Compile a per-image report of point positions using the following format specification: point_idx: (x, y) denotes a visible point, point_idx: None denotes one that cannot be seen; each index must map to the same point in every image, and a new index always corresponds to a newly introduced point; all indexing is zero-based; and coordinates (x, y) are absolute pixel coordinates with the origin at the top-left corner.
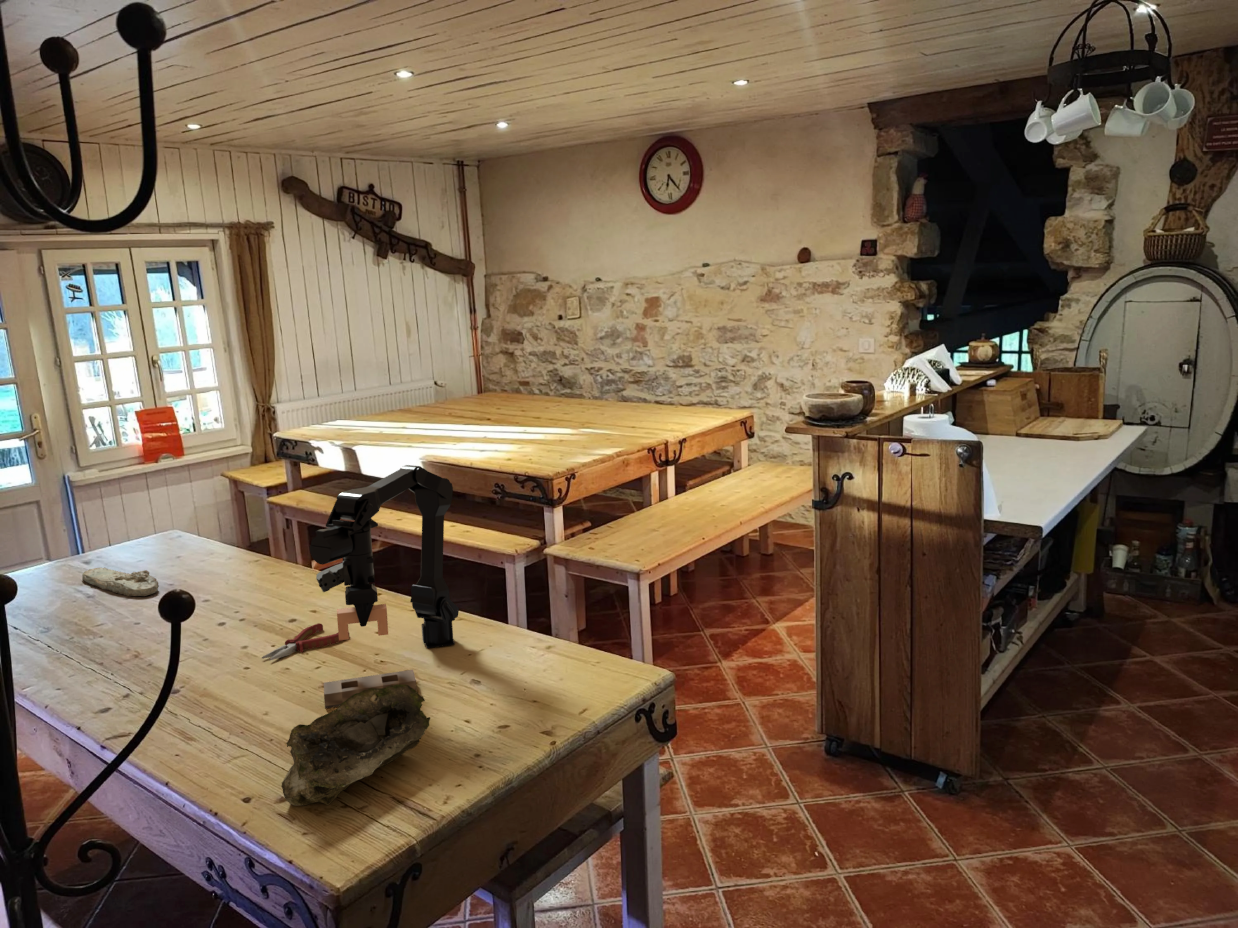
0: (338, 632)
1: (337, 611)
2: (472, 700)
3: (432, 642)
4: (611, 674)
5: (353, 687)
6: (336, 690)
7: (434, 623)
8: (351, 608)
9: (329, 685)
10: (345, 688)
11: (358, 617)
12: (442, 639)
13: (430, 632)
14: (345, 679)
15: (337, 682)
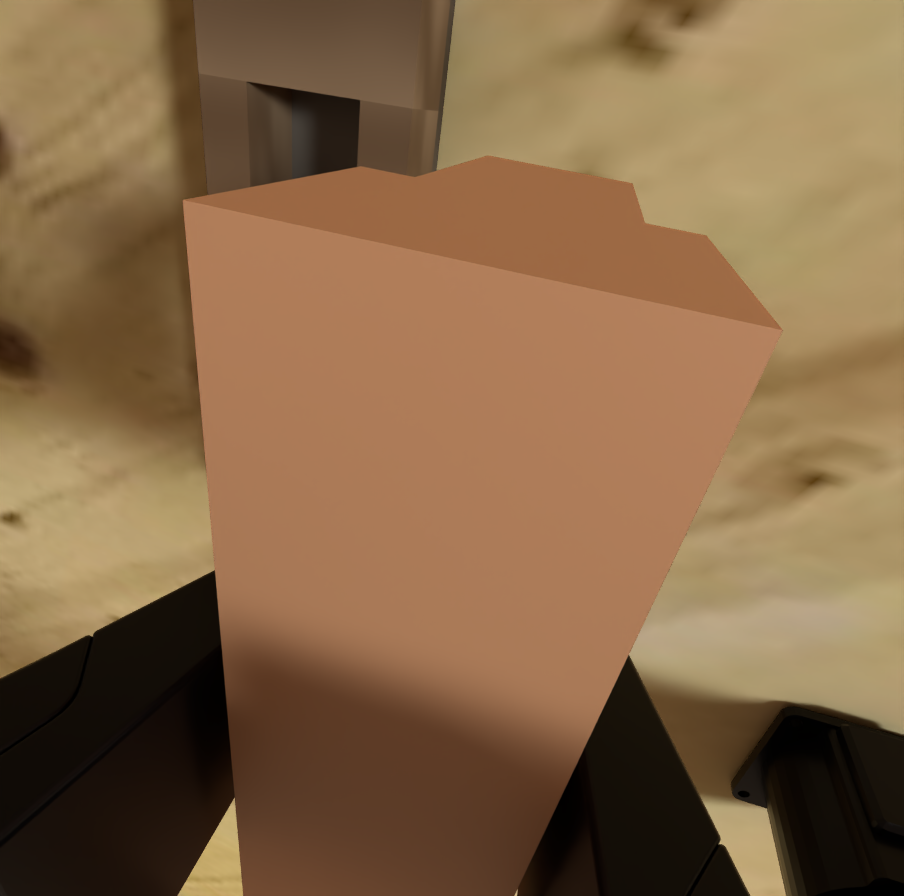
0: (458, 164)
1: (450, 279)
2: (157, 593)
3: (800, 750)
4: (222, 865)
5: (247, 175)
6: (230, 33)
7: (816, 878)
8: (514, 689)
9: None
10: (247, 114)
11: (188, 588)
12: (768, 789)
13: (830, 805)
14: (407, 147)
15: (376, 69)
